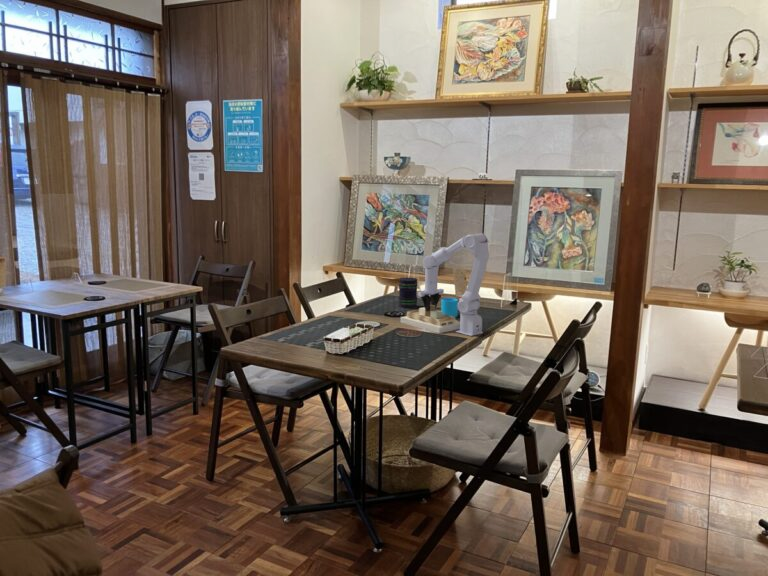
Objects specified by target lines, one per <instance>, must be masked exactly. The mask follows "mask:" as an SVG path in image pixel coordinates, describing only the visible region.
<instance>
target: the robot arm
mask: <svg viewBox="0 0 768 576" xmlns="http://www.w3.org/2000/svg"><path fill="white" fill-rule="evenodd" d="M489 242H490V240H489V239H488V238H487V235H485V234H484V233H482V232H480V233H474V234H467V235H466V236H462V237H461V238H460V239H459V240H456V241H455V242H454V243H452V244H451V245H450V246H448V247H446V246H440V247H439V248H438V249H437V250H436V251H432V252H431V254H430V255H429V254H428V255H426V256H425V257H423V259H422V264H423V265H422V266H423V267H424V289H423V290H422V291H418V292H417V297H420V299H421V301H422V302H423V306H424V307H425V311H430V305H435V310H437V306H438V304H439V301H440V299H442V295H443V294H444V288H438V282H439V281H438V277H439V275H438V273H439V267H440V265H441V264H443V263H444V262H446V261H447V260H449V259H451V257H452V254H454V253H456V252H457V251H459V250H461V249H464V248H465V249H467V250H469V252H471V253H472V255H473V256H474V262H473V266H472V269H471V273H470V275H469V279H468V283H467V287H466V290H465V291H464V293H463V294H462V295H461V298H460V300H458V311H459V313H460V314H459V315H460V316H459V317H460V318H459V319H460V320H459V321H460V329H457V330H455V332H456V333H459V334H463V335H466V336H469V337H470V336H471V337H473V336H477V335H483V334H484V332H483V318H482V316H481V315H480V314H478V310H479V309H480V307H481V295H480V294H479V293H480V289H481V286H482V282H483V279H484V275H485V272H486V268H487V266H488V261H489V258H490V252H489V251H490V250H489ZM441 294H442V295H441Z"/></svg>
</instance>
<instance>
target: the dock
mask: <svg viewBox="0 0 768 576" xmlns="http://www.w3.org/2000/svg"><path fill="white" fill-rule="evenodd" d="M400 323H401V324H405V325H408V326H412V327H415V328H419V329H424V330H426V331H430V332H434V333H437V334H442V333H447V332H452V331H457V330H460V320H457V319H455V323H449V322H448V325H445V324H442V326H437V325H433V324H430V323H426V322H422V321H418V320H415V319H411V318H407V315H405V316H400Z"/></svg>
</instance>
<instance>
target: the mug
mask: <svg viewBox="0 0 768 576" xmlns="http://www.w3.org/2000/svg"><path fill="white" fill-rule="evenodd" d="M458 302H459V299H457V298H454V297H445V298H441V303H440V304H441V305H440V307H441V309H440V311H443V314H445V315H449V316H453V317H455V318H456V317H457V318H458V311H459V310H458Z"/></svg>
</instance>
